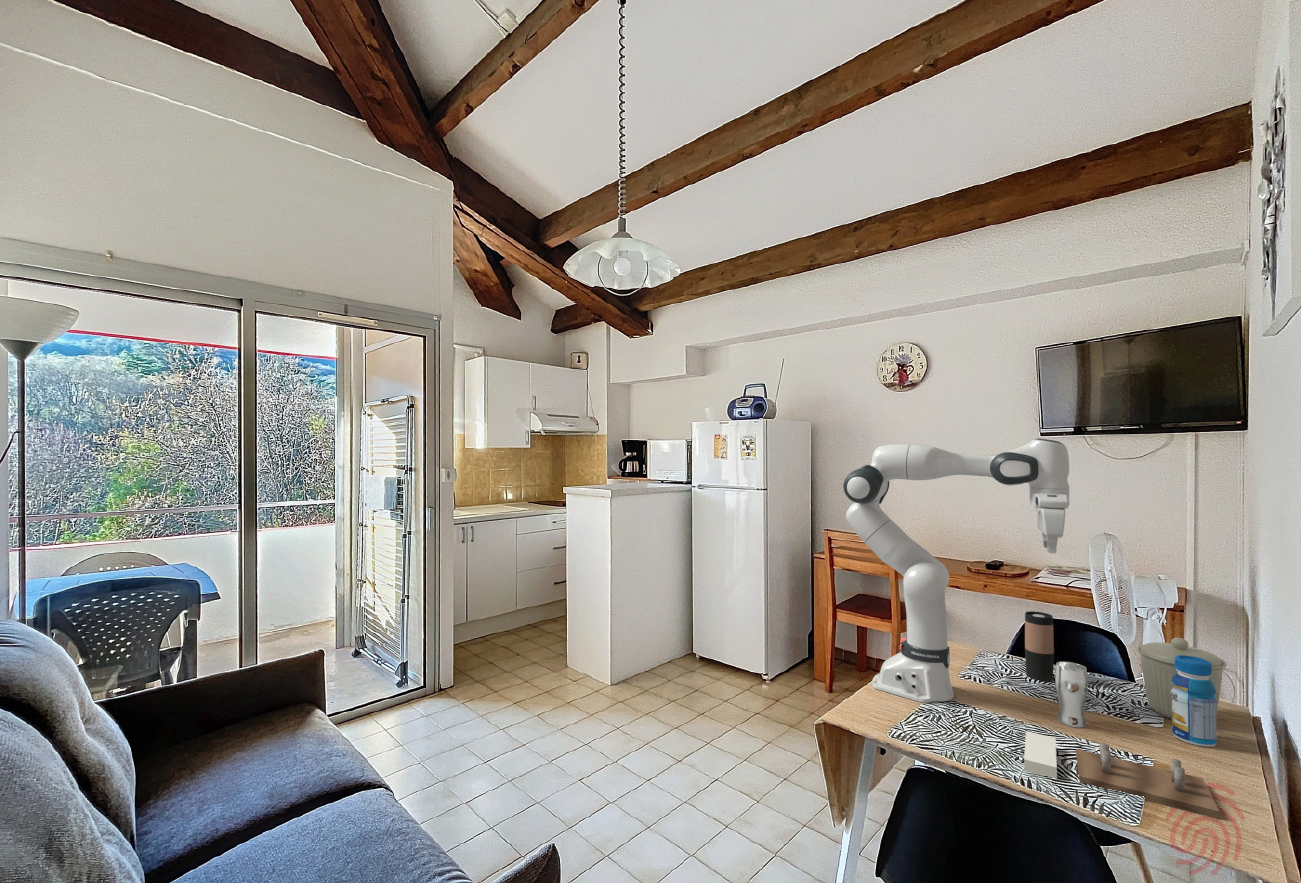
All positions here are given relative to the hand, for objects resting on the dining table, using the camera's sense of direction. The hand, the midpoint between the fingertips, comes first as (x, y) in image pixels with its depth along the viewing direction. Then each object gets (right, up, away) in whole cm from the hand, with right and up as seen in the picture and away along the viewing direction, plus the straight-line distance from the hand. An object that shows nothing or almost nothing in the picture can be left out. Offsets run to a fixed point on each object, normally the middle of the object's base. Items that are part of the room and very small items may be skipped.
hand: (1049, 550), depth 155 cm
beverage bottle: (+29, -46, -11) cm, 55 cm away
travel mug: (+17, -46, +30) cm, 58 cm away
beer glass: (+5, -46, -2) cm, 46 cm away
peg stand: (-1, -45, -30) cm, 54 cm away
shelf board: (-16, -46, -20) cm, 52 cm away
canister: (+38, -46, +3) cm, 59 cm away
